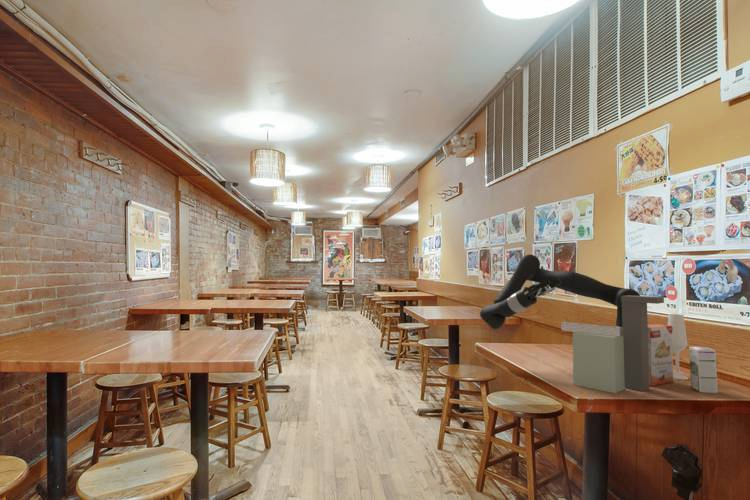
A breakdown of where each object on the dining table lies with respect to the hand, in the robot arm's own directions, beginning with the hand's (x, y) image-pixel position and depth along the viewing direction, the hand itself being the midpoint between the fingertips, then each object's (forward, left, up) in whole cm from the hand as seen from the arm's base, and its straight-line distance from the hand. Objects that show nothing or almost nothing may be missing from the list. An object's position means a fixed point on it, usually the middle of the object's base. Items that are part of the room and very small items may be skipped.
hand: (554, 280), depth 162 cm
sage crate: (-10, +12, -37) cm, 40 cm away
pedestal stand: (-24, +15, -37) cm, 47 cm away
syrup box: (-44, +16, -37) cm, 60 cm away
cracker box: (-34, +6, -37) cm, 51 cm away
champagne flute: (-48, -2, -37) cm, 61 cm away
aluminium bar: (-9, +10, -18) cm, 23 cm away
